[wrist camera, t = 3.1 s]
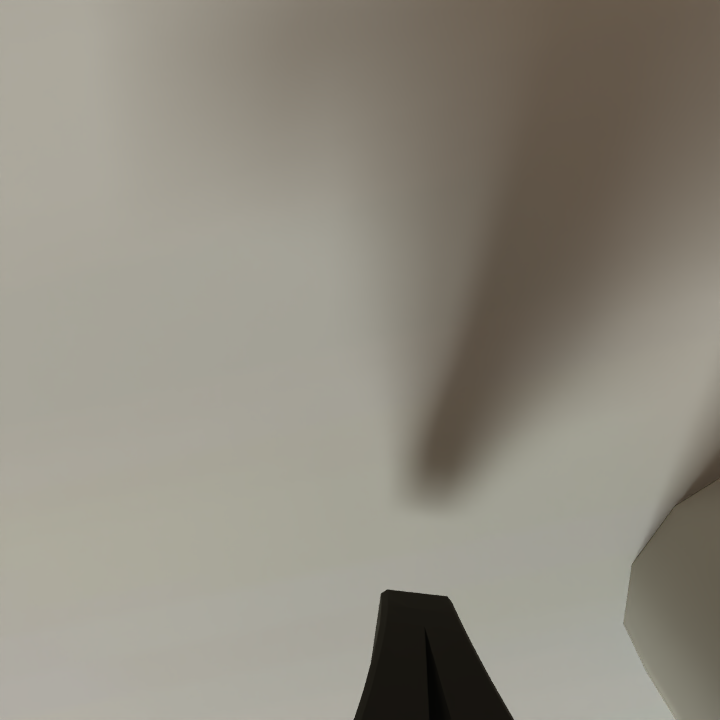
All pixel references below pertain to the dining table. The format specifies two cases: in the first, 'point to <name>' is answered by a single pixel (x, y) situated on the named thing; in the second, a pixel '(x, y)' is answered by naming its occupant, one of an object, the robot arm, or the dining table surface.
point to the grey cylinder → (681, 607)
